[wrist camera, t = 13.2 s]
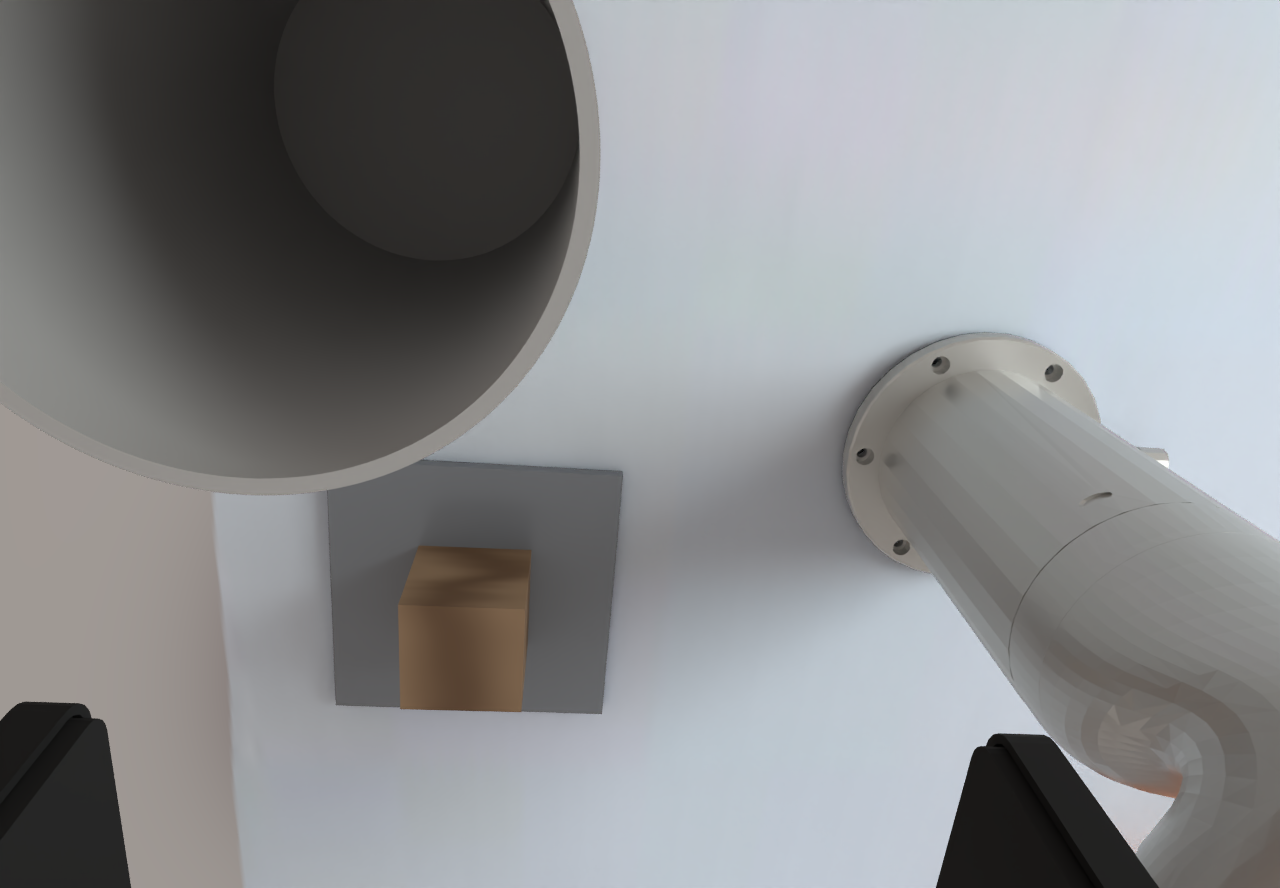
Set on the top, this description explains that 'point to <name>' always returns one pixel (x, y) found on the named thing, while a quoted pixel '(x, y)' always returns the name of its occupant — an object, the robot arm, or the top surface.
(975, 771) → the robot arm
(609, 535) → the slate coaster
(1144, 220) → the top surface
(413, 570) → the walnut block
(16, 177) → the cylinder vase
